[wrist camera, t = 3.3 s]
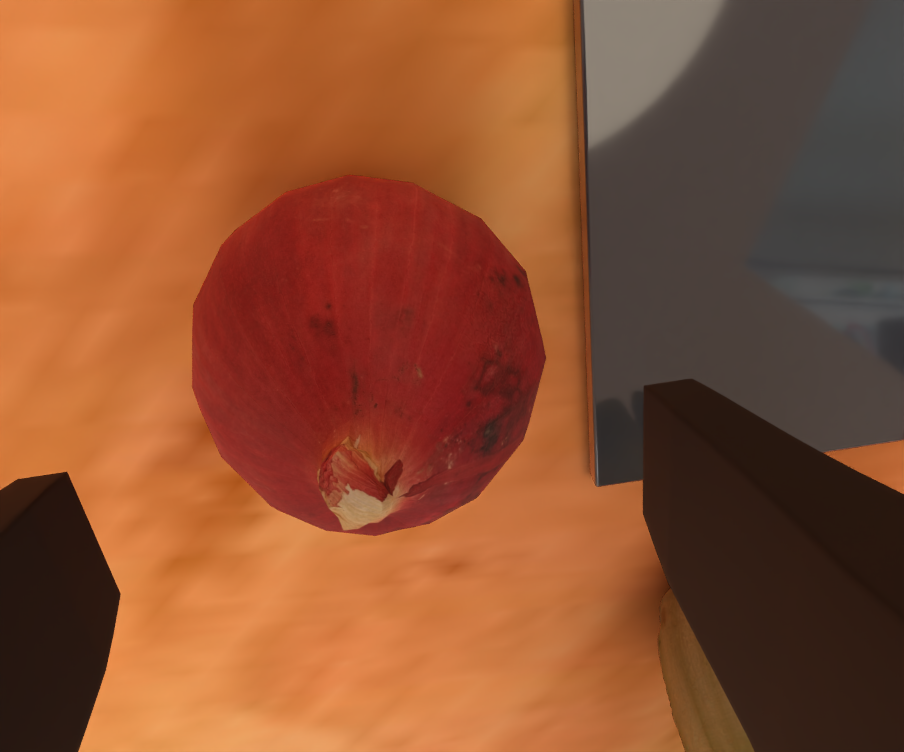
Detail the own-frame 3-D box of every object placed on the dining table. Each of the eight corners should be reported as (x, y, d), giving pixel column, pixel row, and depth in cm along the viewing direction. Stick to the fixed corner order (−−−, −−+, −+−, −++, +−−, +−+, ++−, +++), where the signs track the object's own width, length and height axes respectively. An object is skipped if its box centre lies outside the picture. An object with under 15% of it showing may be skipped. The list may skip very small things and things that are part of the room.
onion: (531, 155, 16) (662, 328, 9) (479, 402, 19) (549, 684, 12) (231, 111, 15) (117, 268, 8) (223, 378, 18) (131, 669, 11)
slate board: (978, 414, 20) (994, 427, 20) (589, 473, 20) (595, 488, 19) (1302, -879, 10) (1351, -922, 10) (543, -797, 10) (552, -838, 10)
